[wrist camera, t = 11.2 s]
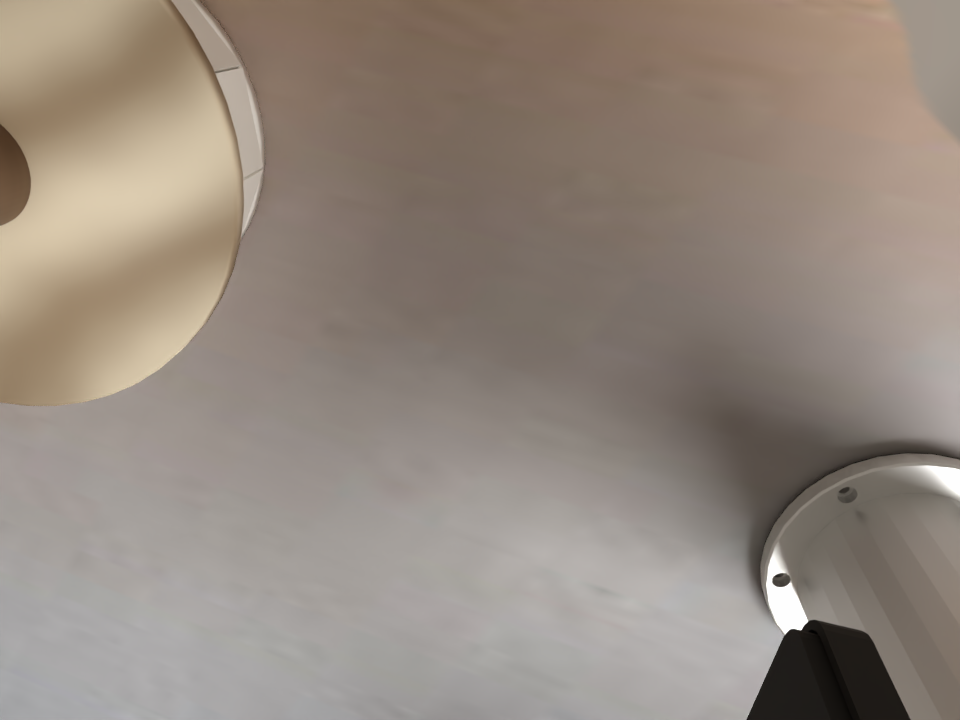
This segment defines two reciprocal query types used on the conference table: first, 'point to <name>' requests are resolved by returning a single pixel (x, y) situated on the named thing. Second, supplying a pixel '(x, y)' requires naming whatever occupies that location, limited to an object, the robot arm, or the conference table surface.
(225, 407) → the conference table surface
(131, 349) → the lid
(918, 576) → the robot arm
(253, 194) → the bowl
